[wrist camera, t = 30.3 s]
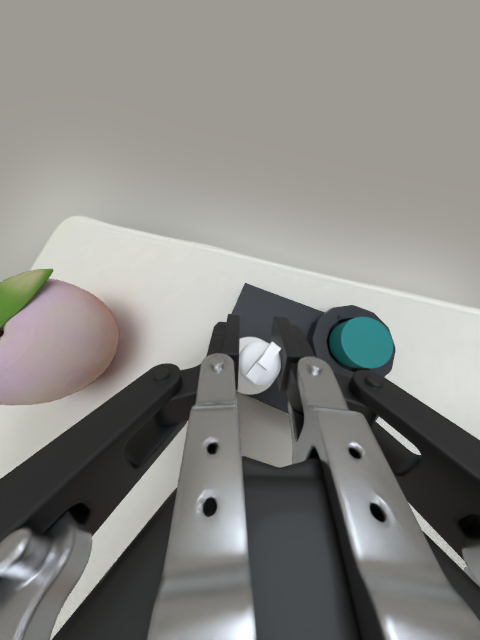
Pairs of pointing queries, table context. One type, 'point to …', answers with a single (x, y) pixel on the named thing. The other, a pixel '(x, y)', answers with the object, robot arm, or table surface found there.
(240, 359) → the chess piece
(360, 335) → the button
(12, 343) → the decorative fruit
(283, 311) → the push button panel
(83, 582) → the table surface
